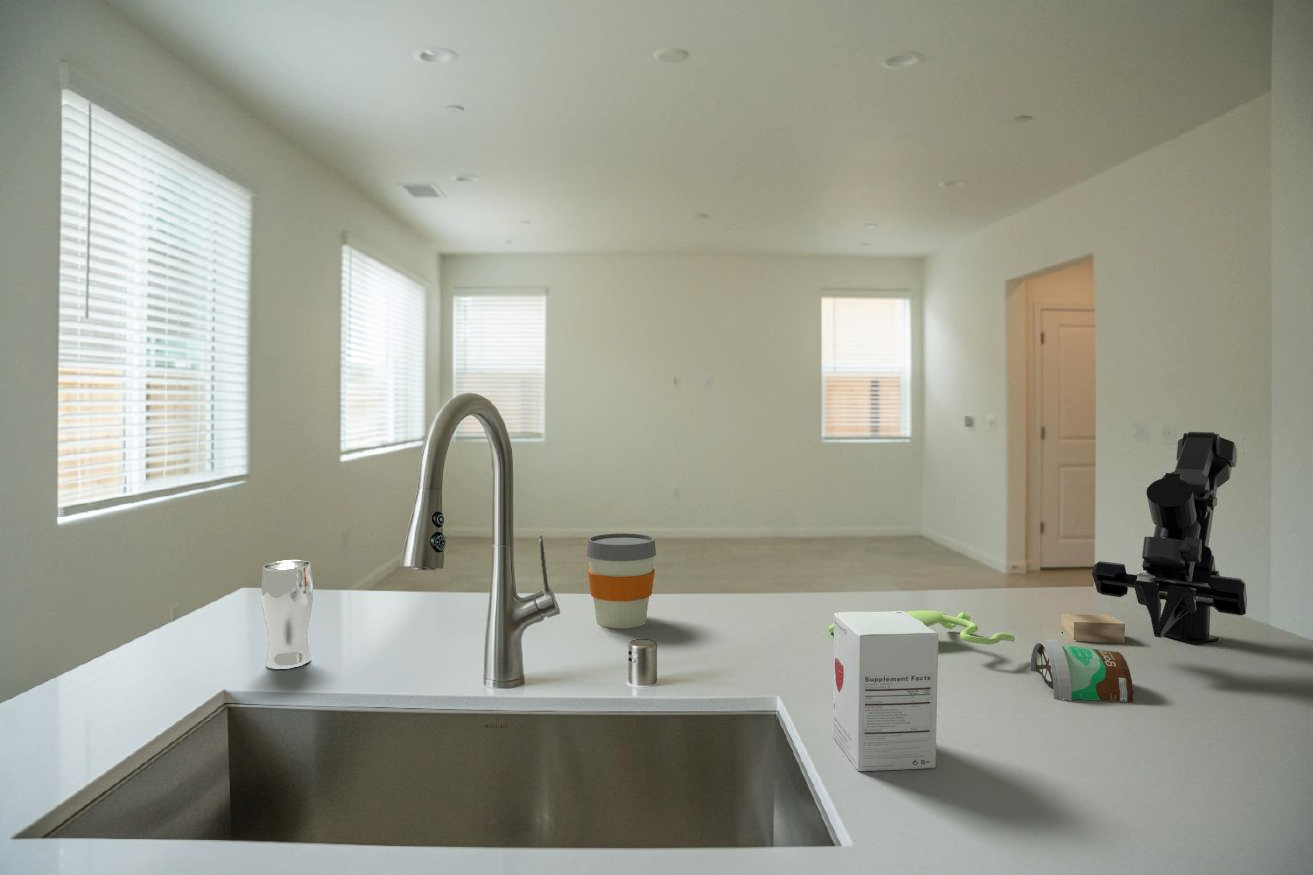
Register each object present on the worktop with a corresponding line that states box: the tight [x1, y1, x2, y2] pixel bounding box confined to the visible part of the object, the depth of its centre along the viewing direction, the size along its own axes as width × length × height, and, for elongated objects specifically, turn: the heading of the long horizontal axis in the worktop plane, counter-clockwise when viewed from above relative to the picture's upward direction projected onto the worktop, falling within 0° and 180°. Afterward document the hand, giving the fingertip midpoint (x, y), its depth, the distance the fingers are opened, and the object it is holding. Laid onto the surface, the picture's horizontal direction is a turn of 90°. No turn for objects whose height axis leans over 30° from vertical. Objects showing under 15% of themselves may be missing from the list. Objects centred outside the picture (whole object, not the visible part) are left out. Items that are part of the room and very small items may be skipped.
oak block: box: [1060, 613, 1126, 644], centre depth 129 cm, size 8×5×4 cm, turn 84°
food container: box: [1029, 638, 1134, 703], centre depth 106 cm, size 12×6×10 cm
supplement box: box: [832, 610, 939, 772], centre depth 85 cm, size 9×9×15 cm
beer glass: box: [260, 559, 314, 666], centre depth 114 cm, size 7×7×15 cm
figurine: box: [828, 609, 1016, 646], centre depth 124 cm, size 18×27×6 cm
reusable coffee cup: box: [586, 532, 657, 629], centre depth 137 cm, size 13×13×15 cm
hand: (1157, 635), depth 109 cm, fingers closed
